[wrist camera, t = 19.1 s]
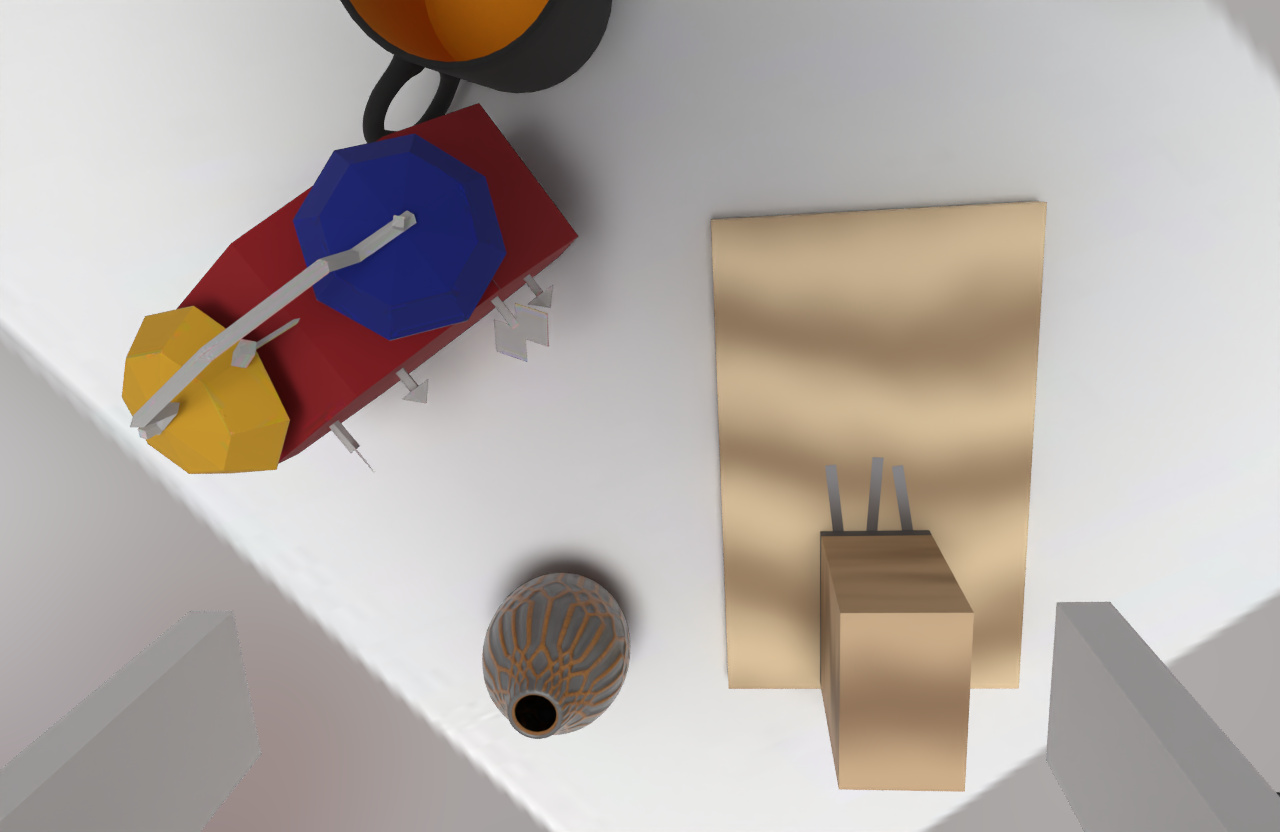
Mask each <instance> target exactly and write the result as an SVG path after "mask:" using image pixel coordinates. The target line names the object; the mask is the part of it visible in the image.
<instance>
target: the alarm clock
mask: <svg viewBox="0 0 1280 832" xmlns="http://www.w3.org/2000/svg"><path fill="white" fill-rule="evenodd" d="M577 237H578V235H577V234H576V232H575V231H574V230H573V228H572V227H571V226H570V224H569V223H568V221H567V220H566V219H565V217H564V216H563V215H562V213H561V212H560V211H559V209H558V208H557V207H556V205H555V204H554V203H553V201H552V200H551V199H550V197H549V196H548V195H547V193H546V192H545V191H544V189H543V188H542V187H541V185H540V184H539V183H538V181H537V180H536V179H535V177H534V176H533V175H532V173H531V172H530V171H529V169H528V168H527V167H526V165H525V164H524V163H523V161H522V160H521V159H520V157H519V156H518V155H517V153H516V152H515V151H514V149H513V148H512V147H511V145H510V144H509V142H508V141H507V140H506V138H505V137H504V136H503V134H502V133H501V132H500V130H499V129H498V128H497V126H496V125H495V124H494V122H493V121H492V120H491V118H490V117H489V116H488V114H487V113H486V112H485V110H484V109H483V108H482V106H481V105H480V104H479V103H478V104H475V105H472V106H469V107H466V108H463V109H460V110H458V111H455V112H452V113H449V114H446V115H443V116H440V117H438V118H435V119H432V120H429V121H426V122H423V123H420V124H418V125H415V126H412V127H409V128H406V129H403V130H400V131H398V132H395V133H392V134H389V135H386V136H383V137H382V138H380V139H379V140H377V141H376V142H372V143H367V144H363V145H358V146H353V147H348V148H344V149H339V150H334V152H333V153H332V155H331V157H330V158H329V160H328V162H327V163H326V165H325V167H324V169H323V170H322V172H321V174H320V175H319V177H318V179H317V180H316V182H315V184H314V185H313V186H312V187H311V188H309V189H308V190H306V191H305V192H303V193H302V194H301V195H299V196H298V197H296V198H295V199H294V200H292V201H291V202H289V203H288V204H286V205H285V206H284V207H282V208H281V209H279V210H278V211H276V212H275V213H274V214H272V215H271V216H269V217H268V218H267V219H265V220H264V221H262V222H261V223H259V224H258V225H257V226H255V227H254V228H252V229H251V230H250V231H248V232H247V233H245V234H244V235H242V236H241V237H240V238H238V239H237V240H235V241H234V242H232V243H231V244H230V245H229V247H228V248H227V249H226V250H225V251H224V253H223V254H222V255H221V256H220V257H219V259H218V260H217V261H216V262H215V263H214V265H213V266H212V267H211V268H210V270H209V271H208V272H207V273H206V274H205V276H204V277H203V278H202V279H201V280H200V282H199V283H198V284H197V285H196V286H195V288H194V289H193V290H192V291H191V292H190V294H189V295H188V296H187V297H186V298H185V300H184V301H183V302H182V303H181V304H180V306H179V307H178V308H177V309H176V310H172V311H167V312H163V313H158V314H153V315H149V316H145V318H144V320H143V322H142V324H141V327H140V329H139V331H138V333H137V335H136V337H135V340H134V342H133V344H132V346H131V348H130V351H129V353H128V355H127V357H126V362H125V372H124V381H123V391H122V398H123V400H124V402H125V404H126V405H127V407H128V409H129V411H130V413H131V414H132V416H133V418H132V422H131V425H130V427H139V428H138V431H139V435H140V437H141V438H144V439H146V441H147V443H148V444H149V445H150V446H152V447H153V448H155V449H156V450H157V451H159V452H160V453H161V454H163V455H164V456H165V457H167V458H168V459H170V460H171V461H172V462H174V463H175V464H176V465H178V466H179V467H181V468H182V469H183V470H185V471H186V472H187V473H189V474H213V473H240V472H252V471H265V470H277V466H278V464H279V463H281V462H283V461H285V460H287V459H289V458H291V457H293V456H295V455H297V454H299V453H300V452H301V451H303V450H304V449H306V448H307V447H308V446H310V445H311V444H313V443H314V442H315V441H317V440H318V439H320V438H321V437H322V436H324V435H325V434H327V433H328V432H329V431H331V430H332V431H333V432H334V434H335V435H336V436H337V437H338V438H339V440H340V441H341V442H342V443H343V444H344V446H345V447H346V448H347V449H348V450H349V451H350V453H352V452H353V451H354V450H355V451H356V452H357V453H358V455H359V456H360V457H361V458H362V459H363V460H364V462H365V463H366V464H367V465H368V466H370V465H369V464H368V463H367V462H366V460H365V459H364V458H363V457H362V455H361V454H360V453H359V452H358V451H357V450H356V449H357V448H358V447H359V444H358V443H357V442H356V441H355V440H354V438H353V437H352V436H351V435H350V434H349V432H348V431H347V430H346V429H345V428H344V426H343V425H342V424H341V423H342V422H343V421H345V420H346V419H348V418H349V417H350V416H352V415H353V414H355V413H356V412H357V411H359V410H360V409H362V408H363V407H364V406H366V405H367V404H368V403H370V402H371V401H373V400H374V399H375V398H377V397H378V396H380V395H381V394H382V393H384V392H385V391H386V390H388V389H389V388H390V387H392V386H393V385H394V384H396V383H397V382H398V381H400V380H402V382H403V383H404V384H405V385H406V386H407V388H408V389H409V390H410V391H411V392H410V393H409V394H408V395H407V396H405V397H404V398H403V399H404V400H410V401H416V402H422V403H426V401H427V388H428V380H426V381H425V382H424V383H422V384H421V385H420V386H418V385H417V383H416V382H415V381H414V380H413V378H412V377H411V376H410V375H409V373H410V372H412V371H413V370H414V369H416V368H417V367H418V366H419V365H421V364H422V363H423V362H425V361H426V360H427V359H429V358H430V357H431V356H433V355H434V354H435V353H437V352H438V351H439V350H441V349H442V348H443V347H445V346H446V345H447V344H449V343H450V342H451V341H453V340H454V339H455V338H456V337H458V336H459V335H460V334H462V333H463V332H464V331H466V330H467V329H468V328H470V327H471V326H472V325H474V324H475V323H476V322H478V321H479V320H480V319H482V318H483V317H484V316H485V315H487V314H488V313H489V312H490V311H492V310H493V309H494V308H495V307H496V308H497V309H498V311H499V312H500V313H501V315H502V316H503V317H504V318H505V320H506V321H507V322H508V324H506V323H503V322H500V321H497V320H494V323H495V336H496V349H497V352H500V353H503V354H506V355H509V356H512V357H515V358H518V359H521V360H524V361H526V362H527V350H526V339H527V340H530V341H533V342H536V343H539V344H542V345H545V346H548V347H549V342H548V314H547V313H545V312H542V311H539V310H535V309H532V308H529V307H526V306H523V305H520V304H516V303H515V311H516V319H515V317H514V316H513V315H512V314H511V312H510V311H509V310H508V308H507V307H506V306H505V305H504V303H503V301H504V300H505V299H507V298H508V297H509V296H510V295H512V294H513V293H514V292H515V291H517V290H518V289H519V288H520V287H522V286H523V285H524V284H525V283H527V284H528V286H529V287H530V288H531V290H532V291H533V292H534V294H535V295H536V296H537V297H536V298H535V299H533V300H532V301H531V302H530V303H528V304H529V305H536V306H542V307H548V308H550V307H551V298H552V289H553V285H552V286H550V287H549V288H548V289H546V290H545V291H544V292H543V291H542V290H541V288H540V287H539V286H538V284H537V283H536V282H535V280H534V279H533V277H534V276H535V275H537V274H538V273H539V272H540V271H542V270H543V269H544V268H545V267H547V266H548V265H549V264H550V263H552V262H553V261H554V260H555V259H557V258H558V257H559V256H560V255H561V254H562V253H563V252H564V251H565V250H566V249H567V248H568V247H569V246H570V244H571V243H572V242H573V241H574V240H575V239H576V238H577ZM370 469H371V470H372V471H374V470H373V469H372V468H370Z"/></svg>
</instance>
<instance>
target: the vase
mask: <svg viewBox="0 0 1280 832" xmlns="http://www.w3.org/2000/svg"><path fill="white" fill-rule="evenodd" d="M629 659H630V635H629V630H628V626H627V622H626V619H625V617H624V615H623V612H622V610H621V608H620V606H619V605H618V603H617V602H616V600H615V599H614V598H613V597H612V596H611V594H610V593H609V592H608V591H607V590H606V589H604V588H603V587H602V586H601V585H599V584H598V583H596V582H595V581H593V580H591V579H589V578H586V577H584V576H581V575H577V574H572V573H552V574H547V575H543V576H539V577H537V578H534V579H532V580H530V581H528V582H526V583H524V584H523V585H521V586H520V587H519V588H517V589H516V590H515V591H513V592H512V593H511V594H510V595H509V596H508V597H507V598H506V599H505V601H504V602H503V603H502V604H501V606H500V607H499V609H498V610H497V612H496V613H495V615H494V617H493V619H492V621H491V623H490V625H489V627H488V630H487V633H486V636H485V641H484V646H483V657H482V662H483V674H484V680H485V684H486V687H487V690H488V692H489V695H490V697H491V699H492V700H493V702H494V704H495V705H496V707H497V708H498V709H499V710H500V712H501V713H502V714H503V715H504V716H505V717H506V718H507V719H509V721H510V723H511V725H512V726H513V727H514V729H515V730H517V731H518V732H519V733H520V734H522V735H524V736H526V737H529V738H535V739H541V738H546V737H549V736H551V735H560V734H566V733H570V732H573V731H576V730H579V729H581V728H583V727H585V726H587V725H589V724H590V723H592V722H593V721H594V720H596V719H597V718H598V717H599V716H600V715H602V714H603V713H604V712H605V711H606V709H607V708H608V707H609V706H610V705H611V703H612V702H613V701H614V699H615V698H616V696H617V695H618V693H619V691H620V689H621V687H622V685H623V683H624V680H625V677H626V674H627V670H628V665H629Z"/></svg>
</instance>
